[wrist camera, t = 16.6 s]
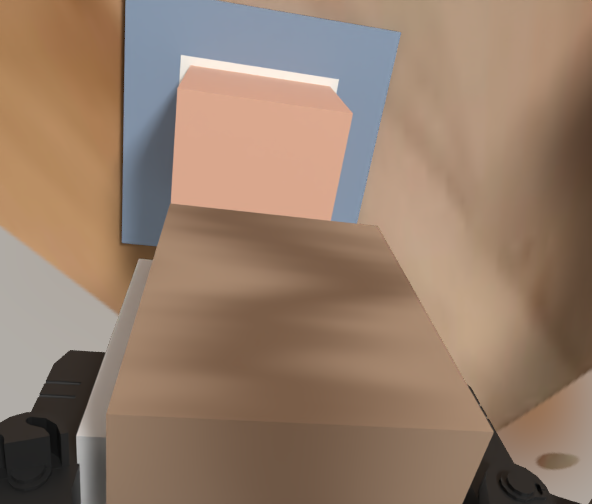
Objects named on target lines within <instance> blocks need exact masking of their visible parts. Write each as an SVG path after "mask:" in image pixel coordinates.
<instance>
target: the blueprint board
mask: <svg viewBox="0 0 592 504" xmlns="http://www.w3.org/2000/svg"><path fill="white" fill-rule="evenodd" d="M400 35H401V32H397V31H391V30H385V29H380V28H374V27H368V26H362V25H356V24H351V23H345V22H339V21H333V20H328V19H322V18H316V17H310V16H304V15H299V14H293V13H287V12H281V11H276V10H270V9H264V8H258V7H252V6H247V5H241V4H235V3H229V2H223V1H218V0H126V3H125V69H124V135H123V201H122V243H128V244H138V245H149V246H157V245H158V242H159V238H160V235H161V232H162V229H163V225H164V222H165V219H166V215H167V212H168V209H169V206H170V203H171V190H172V173H173V156H174V139H175V122H176V105H177V88H178V86H179V85H180V83H181V81H182V79H183V77H184V76H185V74H186V72H187V70H188V69H189V67H190V65H193V66H200V67H206V68H213V69H219V70H226V71H232V72H239V73H246V74H252V75H259V76H265V77H272V78H278V79H285V80H292V81H298V82H305V83H311V84H318V85H325V86H330V87H331V88H332V89H333V91H334V92H335V93H336V94H337V95H338V96H339V98H340V99H341V100H342V101H343V102H344V104H345V105H346V106H347V107H348V108H349V109H350V111H351V112H352V113H353V116H352V121H351V126H350V130H349V135H348V140H347V145H346V150H345V155H344V159H343V164H342V169H341V174H340V179H339V184H338V188H337V193H336V198H335V203H334V208H333V213H332V217H331V221H337V222H346V223H355V224H357V220H358V216H359V212H360V207H361V203H362V199H363V194H364V190H365V186H366V181H367V177H368V173H369V169H370V164H371V160H372V156H373V151H374V147H375V143H376V138H377V134H378V130H379V125H380V121H381V117H382V113H383V108H384V104H385V100H386V95H387V91H388V87H389V82H390V78H391V74H392V69H393V65H394V61H395V56H396V52H397V48H398V44H399V39H400Z"/></svg>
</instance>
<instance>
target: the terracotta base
mask: <svg viewBox="0 0 592 504" xmlns="http://www.w3.org/2000/svg"><path fill="white" fill-rule="evenodd" d="M352 116H353V113H352V112H351V111H350V109H349V108H348V107H347V106H346V105H345V104H344V102H343V101H342V100H341V99H340V98H339V96H338V95H337V94H336V93H335V92H334V91H333V89H332V88H331V87H330V86H325V85H318V84H311V83H305V82H298V81H292V80H285V79H278V78H272V77H265V76H259V75H252V74H246V73H239V72H232V71H226V70H219V69H213V68H206V67H200V66H193V65H190V67H189V69H188V70H187V72H186V74H185V76H184V77H183V79H182V81H181V83H180V85H179V86H178V88H177V105H176V122H175V139H174V156H173V173H172V190H171V204H180V205H189V206H199V207H208V208H217V209H226V210H235V211H245V212H254V213H263V214H272V215H282V216H291V217H300V218H309V219H318V220H328V221H331V217H332V213H333V208H334V203H335V198H336V193H337V188H338V184H339V179H340V174H341V169H342V164H343V159H344V155H345V150H346V145H347V140H348V135H349V130H350V126H351V121H352Z"/></svg>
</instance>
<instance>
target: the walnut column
mask: <svg viewBox="0 0 592 504" xmlns="http://www.w3.org/2000/svg"><path fill="white" fill-rule="evenodd" d="M493 433H494V431H493V429H492V428H491V426H490V424H489V422H488V421H487V419H486V417H485V415H484V413H483V412H482V410H481V408H480V406H479V405H478V403H477V401H476V399H475V398H474V396H473V394H472V392H471V390H470V389H469V387H468V385H467V383H466V382H465V380H464V378H463V376H462V375H461V373H460V371H459V369H458V367H457V366H456V364H455V362H454V360H453V359H452V357H451V355H450V353H449V352H448V350H447V348H446V346H445V344H444V343H443V341H442V339H441V337H440V336H439V334H438V332H437V330H436V328H435V327H434V325H433V323H432V321H431V320H430V318H429V316H428V314H427V313H426V311H425V309H424V307H423V305H422V304H421V302H420V300H419V298H418V297H417V295H416V293H415V291H414V290H413V288H412V286H411V284H410V282H409V281H408V279H407V277H406V275H405V274H404V272H403V270H402V268H401V266H400V265H399V263H398V261H397V259H396V258H395V256H394V254H393V252H392V251H391V249H390V247H389V245H388V243H387V242H386V240H385V238H384V236H383V235H382V233H381V231H380V229H379V228H378V226H374V225H365V224H355V223H346V222H337V221H328V220H318V219H309V218H300V217H291V216H282V215H272V214H263V213H254V212H245V211H235V210H226V209H217V208H208V207H199V206H189V205H180V204H171V203H170V206H169V209H168V212H167V215H166V219H165V222H164V225H163V229H162V232H161V235H160V238H159V242H158V245H157V248H156V252H155V255H154V258H153V261H152V265H151V268H150V271H149V275H148V278H147V281H146V284H145V288H144V291H143V294H142V298H141V301H140V304H139V307H138V311H137V314H136V317H135V321H134V324H133V327H132V331H131V334H130V337H129V340H128V344H127V347H126V350H125V354H124V357H123V360H122V363H121V367H120V370H119V373H118V377H117V380H116V383H115V386H114V390H113V393H112V396H111V400H110V403H109V406H108V409H107V413H106V504H462V503H463V501H464V499H465V497H466V494H467V492H468V490H469V487H470V485H471V483H472V481H473V478H474V476H475V474H476V472H477V469H478V467H479V465H480V462H481V460H482V458H483V456H484V453H485V451H486V449H487V447H488V444H489V442H490V440H491V438H492V435H493Z"/></svg>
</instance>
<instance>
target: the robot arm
mask: <svg viewBox="0 0 592 504" xmlns="http://www.w3.org/2000/svg"><path fill="white" fill-rule="evenodd" d="M152 261H153V260H148V259H139V260H138V263H137V265H136V268H135V271H134V274H133V277H132V280H131V282H130V285H129V288H128V291H127V294H126V297H125V299H124V302H123V305H122V308H121V311H120V314H119V316H118V319H117V322H116V325H115V328H114V331H113V333H112V336H111V339H110V342H109V345H108V347H107V351H106V353H104V352H88V351H73V350H70V351H69V352H67V353H66V354H65V355H64V356H63V357H62V358H61V359H59V360H58V361H57V362H56V363H54V365H53V367H52V369H51V371H50V373H49V376H48V377H47V380H46V384H44V386H43V388H42V390H41V392H40V396H39V397H38V399H37V401H36V403H35V405H34V407H33V409H32V411H31V412H26V413H23V414H19V415H15V416H12V417H9V418H8V419H6V420H4V421H2V422H0V504H106V413H107V409H108V406H109V403H110V400H111V396H112V393H113V390H114V386H115V383H116V380H117V377H118V373H119V370H120V367H121V363H122V360H123V357H124V354H125V350H126V347H127V344H128V340H129V337H130V334H131V331H132V327H133V324H134V321H135V317H136V314H137V311H138V307H139V304H140V301H141V298H142V294H143V291H144V288H145V284H146V281H147V278H148V275H149V271H150V268H151V265H152ZM468 387H469V389H470V390H471V392H472V394H473V396H474V398H475V399H476V401H477V403H478V405H479V406H480V403H479V401H478V399H477V397H476V396H475V394H474V392H473V390H472V389H471V387H470V386H468ZM480 408H481V410H482V412H483V413H484V415H485V417H486V419H487V415H486V413H485V412H484V410H483V408H482V406H480ZM487 421H488V422H489V424H490V426H491V428H492V429H493V431H494V433H493V435H492V438H491V440H490V442H489V444H488V447H487V449H486V451H485V453H484V456H483V458H482V460H481V462H480V465H479V467H478V469H477V472H476V474H475V476H474V478H473V481H472V483H471V485H470V487H469V490H468V492H467V494H466V497H465V499H464V501H463V503H462V504H580V503H577V502H573V501H570V500H567V499H563V498H560V497H557V496H555V495H552V494H550V493H549V491H548V489H547V487H546V486H545V485H544V484H543V483H542V481H541V480H540V479H539V478H538V477H537V476H536V475H534V474H533V473H531V472H530V471H528V470H527V469H526V468H524V467H521V466H519V465H516V464H514V463H513V461H512V459H511V457H510V456H509V454H508V452H507V450H506V448H505V447H504V445H503V443H502V441H501V440H500V438H499V436H498V434H497V433H496V431H495V429H494V427H493V426H492V424H491V422H490V420H489V419H487ZM589 504H592V499H591V501H590V503H589Z"/></svg>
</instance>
